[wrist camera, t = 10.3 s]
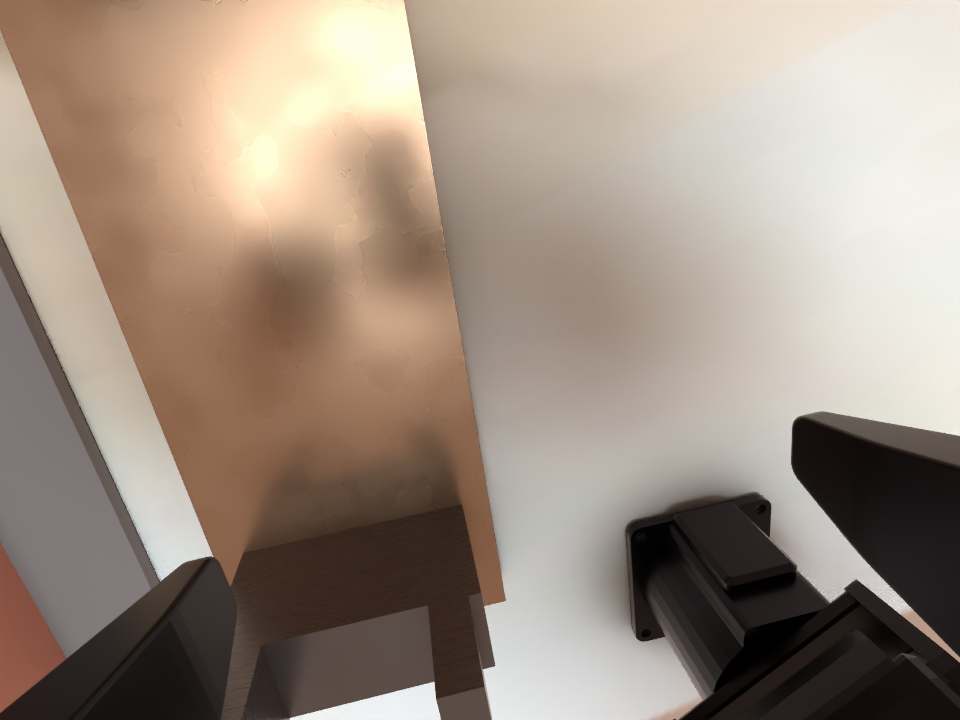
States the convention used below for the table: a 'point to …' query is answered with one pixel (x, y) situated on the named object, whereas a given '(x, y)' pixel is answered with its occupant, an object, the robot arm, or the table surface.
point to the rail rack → (286, 324)
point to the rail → (22, 637)
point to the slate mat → (58, 487)
